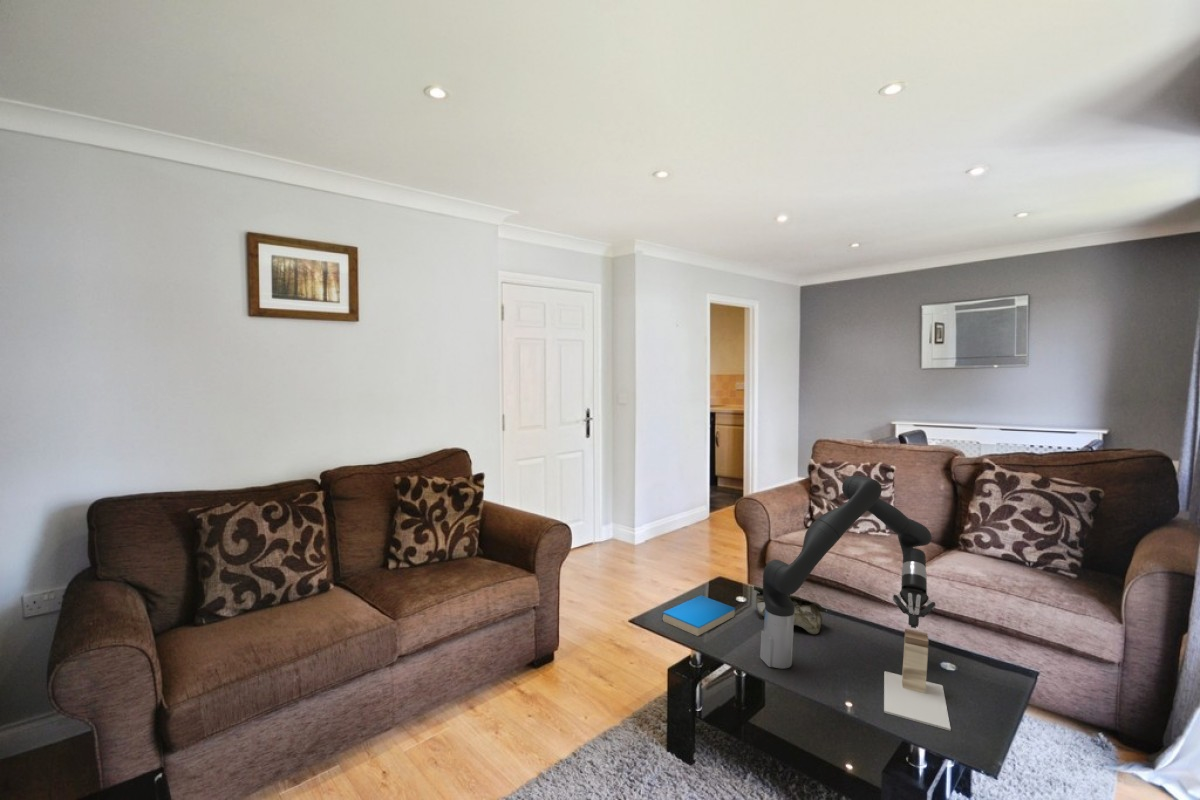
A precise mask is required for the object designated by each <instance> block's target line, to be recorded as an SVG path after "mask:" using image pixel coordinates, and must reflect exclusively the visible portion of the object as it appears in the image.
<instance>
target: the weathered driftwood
mask: <svg viewBox="0 0 1200 800" xmlns="http://www.w3.org/2000/svg"><path fill="white" fill-rule="evenodd" d="M753 591H756V592H758V593H756V595H755V597H756V605H757V606H756V607H757V610H758V613H759V615H761V616H762V617H763V618H765V602H764V600H763V587H760V586H755V585H754V586H753ZM788 596H789V598H790V599H791V601H792V602H793V604H794V607H795V609H794V626H798V627H801V628H803V629H804V630H805V631H806V632H807V633H808V634H812V635H817V634H819V632H820V630H821V625H822V623H823V616H822V614H821V613H822V612H824V613H827V612H828V610H827V609H826V608H824V607H823V606H822V605H821V604H819V603H817V602H816V601H813V600H809V599H805V598H803V597H799V596H796V595H792V594H791V595H788Z"/></svg>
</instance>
